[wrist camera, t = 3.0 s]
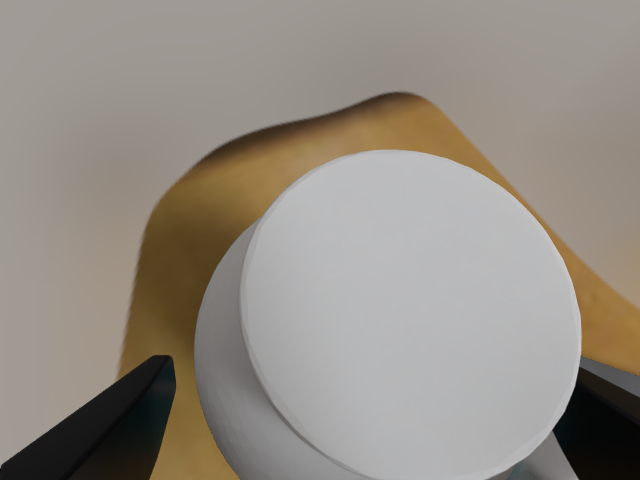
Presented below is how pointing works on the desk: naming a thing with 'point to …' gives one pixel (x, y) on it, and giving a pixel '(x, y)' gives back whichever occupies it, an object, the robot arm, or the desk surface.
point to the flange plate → (548, 459)
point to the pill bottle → (387, 328)
